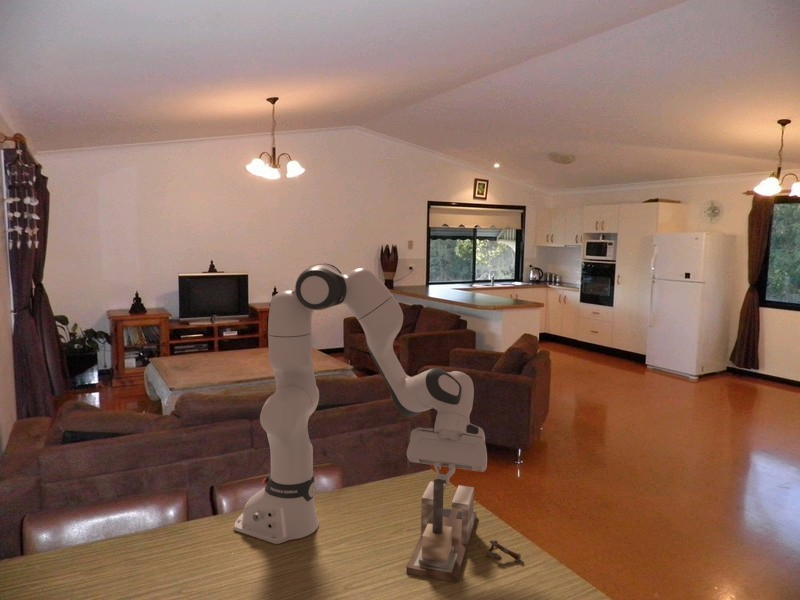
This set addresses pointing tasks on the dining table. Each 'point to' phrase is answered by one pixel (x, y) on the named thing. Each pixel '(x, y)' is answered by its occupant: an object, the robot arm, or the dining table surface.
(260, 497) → the robot arm
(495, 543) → the toy flintlock pistol
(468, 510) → the tunnel track
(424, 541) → the rod on wooden block
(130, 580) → the dining table surface
